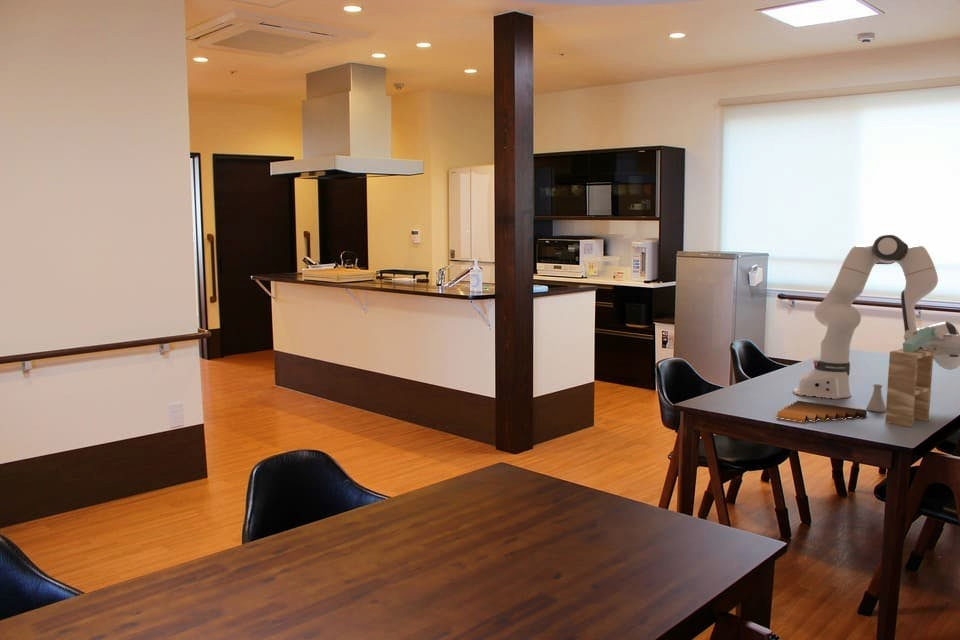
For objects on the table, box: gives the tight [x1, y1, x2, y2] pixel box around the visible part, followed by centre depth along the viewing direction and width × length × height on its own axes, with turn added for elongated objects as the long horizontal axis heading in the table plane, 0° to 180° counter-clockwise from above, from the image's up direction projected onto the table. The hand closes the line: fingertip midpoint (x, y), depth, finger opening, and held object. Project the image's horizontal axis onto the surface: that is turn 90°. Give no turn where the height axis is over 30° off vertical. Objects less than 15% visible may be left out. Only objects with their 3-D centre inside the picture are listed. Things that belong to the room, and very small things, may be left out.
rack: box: [884, 348, 934, 428], centre depth 287 cm, size 15×9×26 cm, turn 130°
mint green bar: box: [902, 326, 935, 353], centre depth 289 cm, size 20×3×3 cm, turn 129°
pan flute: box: [776, 400, 868, 423], centre depth 294 cm, size 25×3×25 cm
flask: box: [865, 383, 886, 413], centre depth 305 cm, size 7×7×10 cm
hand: (927, 331), depth 293 cm, fingers closed on mint green bar, 3 cm apart
